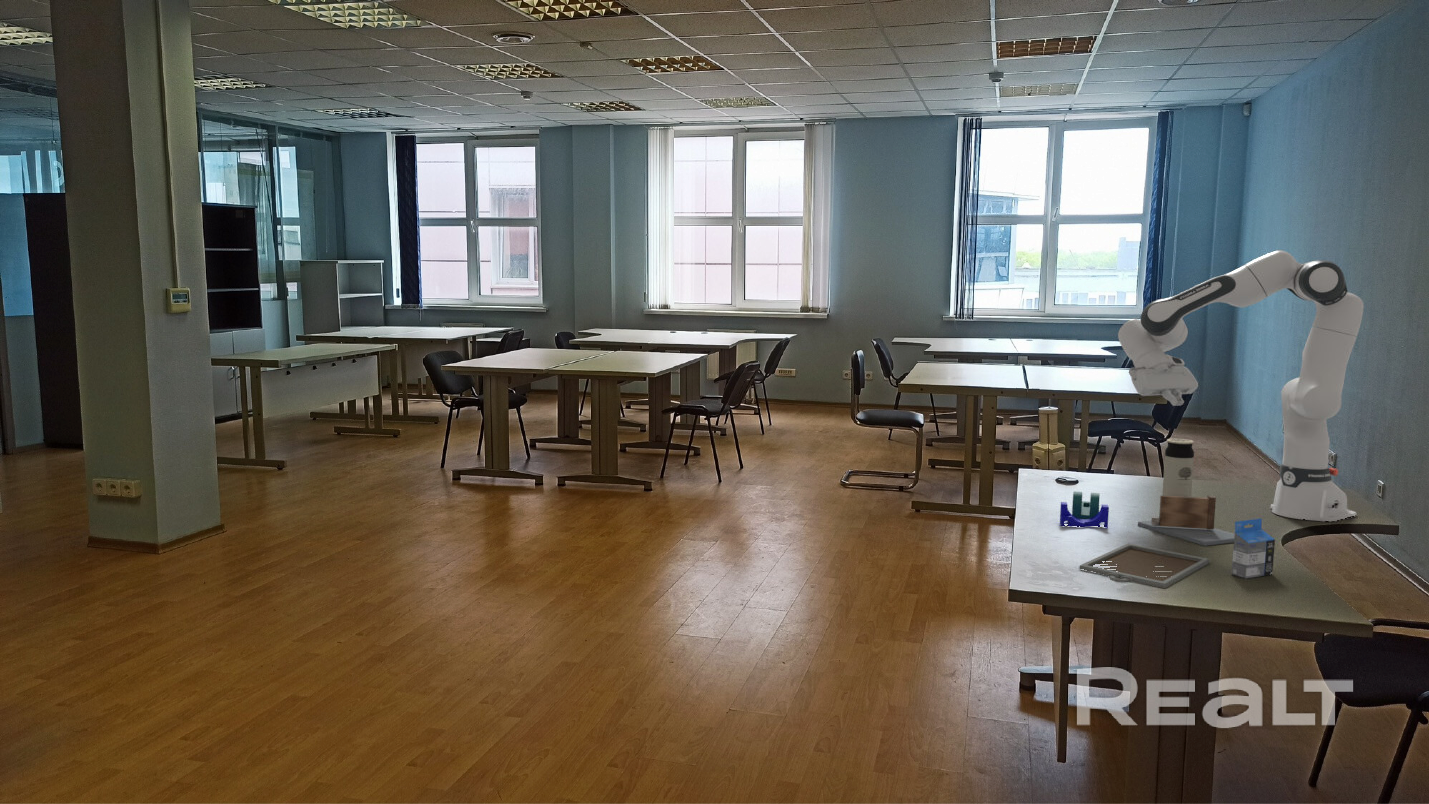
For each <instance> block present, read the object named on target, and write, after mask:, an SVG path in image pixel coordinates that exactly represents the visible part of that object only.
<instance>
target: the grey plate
mask: <svg viewBox="0 0 1429 804" xmlns="http://www.w3.org/2000/svg"><path fill="white" fill-rule="evenodd" d="M1151 521H1152V519H1151V520H1143V521H1141V520H1140V521H1137V526H1139V527H1141V526H1142V527H1141V528H1144V527H1145V529H1148V530H1152V531H1155V532H1159V533H1161V534H1165V535H1167V536H1171V537H1174V538H1177V539H1181V540H1184V541H1187V542H1190V543H1194V544H1198V545H1200V546H1203V547H1207V546H1215V545H1224V544H1231V543H1234V537H1235V532H1231V531H1230V532H1229V531H1226V530H1223V529H1219V528H1216V527H1214V530H1213V529H1201V528H1184V527H1166V526H1152V525H1151Z"/></svg>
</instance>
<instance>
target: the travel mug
mask: <svg viewBox="0 0 1429 804" xmlns="http://www.w3.org/2000/svg"><path fill="white" fill-rule="evenodd" d="M1166 442H1167V447H1166V448H1165V450H1164V464H1163V465H1164V466H1163V482H1162V495H1163V496H1183V497H1192V489H1193V478H1194V475H1193V474H1194V473H1193V472H1194V462H1195V461H1194V460H1195V451H1194V449H1193V444H1194V442H1195V441H1194V440H1191V439H1187V438H1167V439H1166Z"/></svg>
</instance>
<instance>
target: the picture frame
mask: <svg viewBox="0 0 1429 804" xmlns="http://www.w3.org/2000/svg"><path fill="white" fill-rule="evenodd" d="M1102 561H1105V562H1104V563H1103V562H1102ZM1106 561H1112V562H1106ZM1209 563H1210V558H1208V557H1207V558H1206V557H1201V556H1196V555H1190V554H1185V553H1181V552H1175V551H1170V550H1164V549H1161V548H1154V547H1149V546H1143V545H1139V544H1133V543H1129V542H1128V543H1126V544H1124V545H1122V546H1119V547H1117V548H1115V549H1112V550H1111V551H1108V552H1107V553H1104V554H1102V555H1099V556H1097V557H1095V558H1093V559H1090V560H1089V561H1086V562H1084V563H1082V564H1079V569H1084V570H1087V571H1093V572H1096V573H1095V574H1097V573H1099V574H1098V575H1101V574H1104V575H1103V576H1106V577H1108V576H1109V577H1108V578H1109V579H1110V580H1111V581H1114V582H1119V583H1128V582H1131V583H1132V582H1134V583H1138V584H1142V585H1147V586H1153V587H1157V588H1162V589H1166V588H1168V587H1170V586H1172V585H1174V584H1176V583H1177V582H1179V581H1181V580H1182V579H1184V578H1186V577H1188V576H1189V575H1191V574H1192V573H1194V571H1195V572H1196V571H1198V570H1199V569H1202V568H1203V567H1205V566H1207V565H1209ZM1095 564H1108V565H1100V566H1117V567H1110V568H1104V569H1102V568H1098V567H1093V565H1095ZM1116 564H1117V565H1116ZM1155 566H1164V567H1155ZM1107 569H1116V570H1107ZM1087 571H1086V572H1087ZM1116 571H1118V572H1116ZM1153 571H1154V572H1153ZM1155 571H1172V572H1155ZM1146 576H1147V577H1146ZM1156 576H1157V577H1156ZM1158 576H1159V577H1158ZM1160 576H1167V577H1160ZM1171 576H1172V577H1171ZM1185 576H1186V577H1185ZM1176 581H1177V582H1176ZM1171 584H1172V585H1171Z"/></svg>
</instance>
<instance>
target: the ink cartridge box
mask: <svg viewBox="0 0 1429 804" xmlns="http://www.w3.org/2000/svg"><path fill="white" fill-rule="evenodd" d="M1262 523H1263V518H1254V519H1253V518H1252V519H1246V520H1237V521H1234V534H1235V537H1234V542H1233V553H1232V561H1231V574H1230V575H1233V576H1235V577H1238V578H1240V579H1241V578H1242V579H1246V580H1247V579H1251V578H1252V579H1253V578H1258V577H1262V576H1263V577H1265V576H1270V575H1271V574H1272V575H1273V569H1274V558H1275V547H1276V546H1275V544H1276V539H1275V538H1274V537H1272V536H1271V535H1270V534H1269V533H1267V532H1266V531H1265V530H1263V528H1262V526H1263V525H1262ZM1248 525H1250V526H1251V527H1250V526H1249V527H1245V526H1248Z"/></svg>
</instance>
